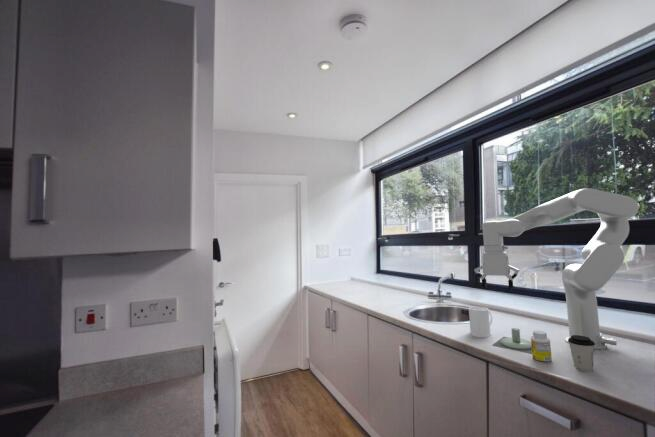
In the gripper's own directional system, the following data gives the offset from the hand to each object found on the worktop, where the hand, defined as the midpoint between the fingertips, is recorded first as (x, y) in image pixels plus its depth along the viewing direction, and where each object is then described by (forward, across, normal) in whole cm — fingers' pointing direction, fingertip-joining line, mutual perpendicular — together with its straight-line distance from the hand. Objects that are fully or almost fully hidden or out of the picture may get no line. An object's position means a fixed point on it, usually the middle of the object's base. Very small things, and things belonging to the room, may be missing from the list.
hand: (497, 288), depth 133 cm
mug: (+22, +8, -2) cm, 23 cm away
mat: (+21, -6, +6) cm, 23 cm away
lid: (+21, -6, +6) cm, 22 cm away
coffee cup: (+22, -26, +19) cm, 39 cm away
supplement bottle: (+22, -15, +19) cm, 32 cm away
